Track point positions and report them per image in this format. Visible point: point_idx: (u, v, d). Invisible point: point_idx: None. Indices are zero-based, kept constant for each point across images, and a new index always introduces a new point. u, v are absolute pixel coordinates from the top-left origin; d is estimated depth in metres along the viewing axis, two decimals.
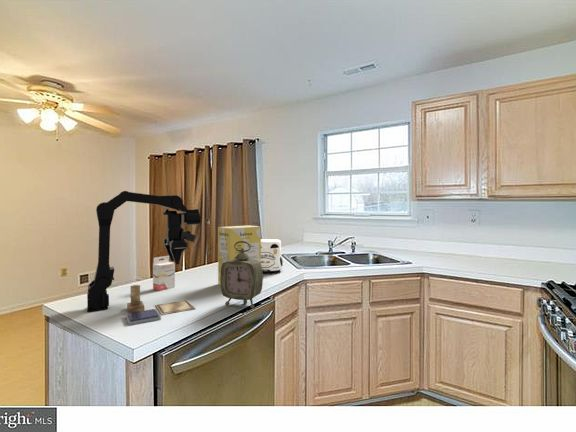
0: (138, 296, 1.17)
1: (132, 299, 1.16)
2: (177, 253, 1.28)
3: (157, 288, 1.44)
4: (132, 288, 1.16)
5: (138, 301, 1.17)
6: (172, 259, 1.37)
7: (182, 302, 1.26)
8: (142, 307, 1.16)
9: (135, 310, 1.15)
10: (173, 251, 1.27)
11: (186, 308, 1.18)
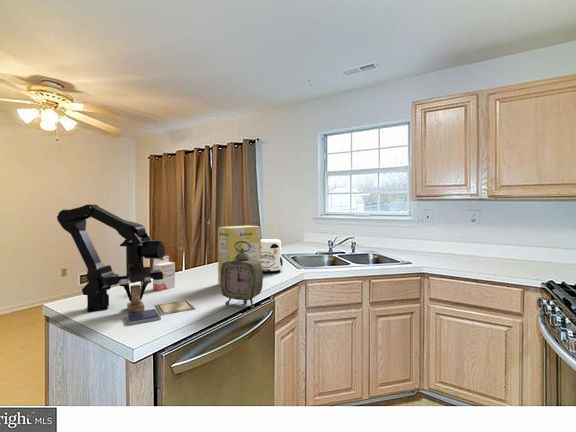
0: (138, 296, 1.17)
1: (132, 299, 1.16)
2: None
3: (157, 288, 1.44)
4: (132, 288, 1.16)
5: (138, 301, 1.17)
6: None
7: (182, 302, 1.26)
8: (142, 307, 1.16)
9: (135, 310, 1.15)
10: None
11: (186, 308, 1.18)
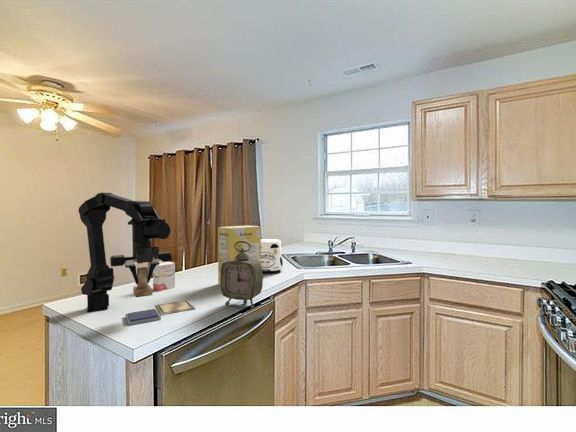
0: (145, 279, 1.08)
1: (139, 282, 1.07)
2: None
3: (157, 288, 1.44)
4: (139, 270, 1.07)
5: (145, 284, 1.08)
6: None
7: (182, 302, 1.26)
8: (150, 290, 1.07)
9: (142, 293, 1.06)
10: None
11: (186, 308, 1.18)
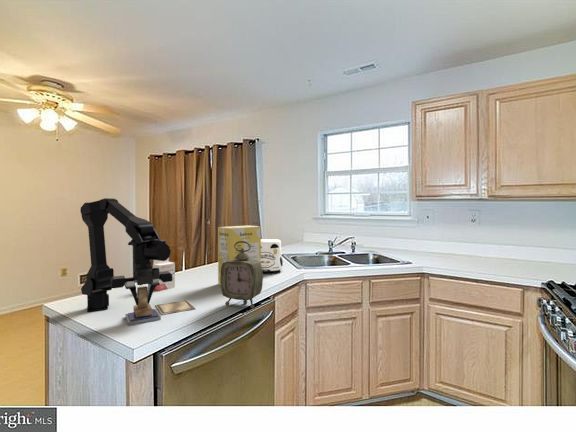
0: (145, 299, 1.08)
1: (139, 301, 1.07)
2: None
3: (157, 288, 1.44)
4: (139, 290, 1.07)
5: (145, 304, 1.08)
6: (148, 301, 1.10)
7: (182, 302, 1.26)
8: (150, 310, 1.07)
9: (142, 313, 1.06)
10: None
11: (186, 308, 1.18)
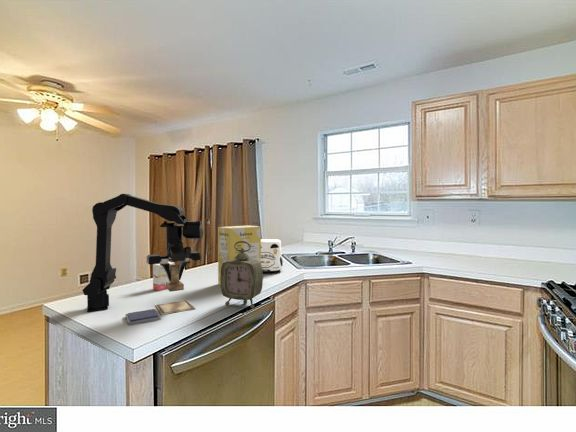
0: (177, 275, 1.19)
1: (172, 278, 1.19)
2: (166, 268, 1.18)
3: (157, 288, 1.44)
4: (172, 267, 1.18)
5: (177, 280, 1.19)
6: (179, 278, 1.21)
7: (182, 302, 1.26)
8: (182, 285, 1.18)
9: (175, 288, 1.17)
10: (163, 265, 1.19)
11: (186, 308, 1.18)
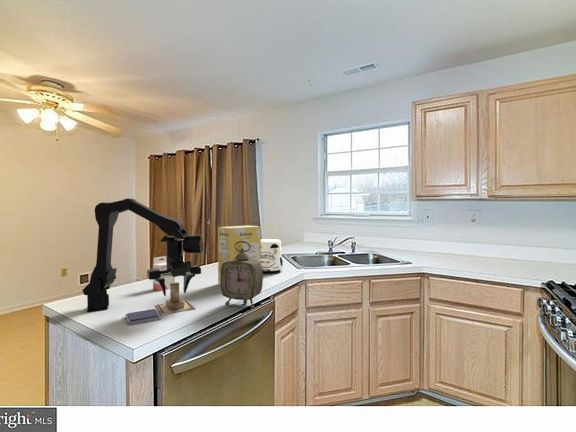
0: (177, 293, 1.19)
1: (172, 296, 1.19)
2: (161, 283, 1.18)
3: (157, 288, 1.44)
4: (172, 285, 1.19)
5: (177, 298, 1.20)
6: (184, 291, 1.22)
7: None
8: (182, 304, 1.18)
9: (175, 307, 1.17)
10: None
11: (186, 308, 1.18)
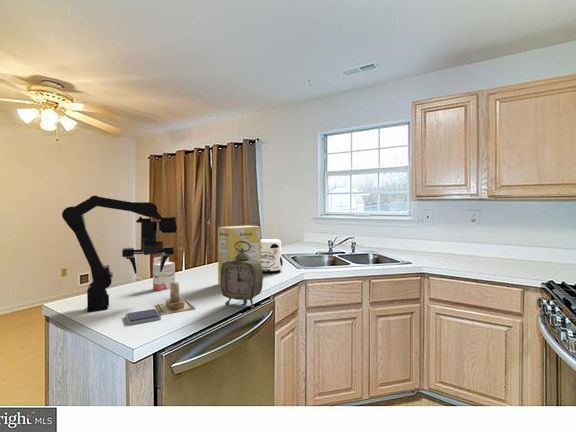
0: (177, 293, 1.19)
1: (172, 296, 1.19)
2: None
3: (157, 288, 1.44)
4: (172, 285, 1.19)
5: (177, 298, 1.20)
6: None
7: None
8: (182, 304, 1.18)
9: (175, 307, 1.17)
10: None
11: (186, 308, 1.18)
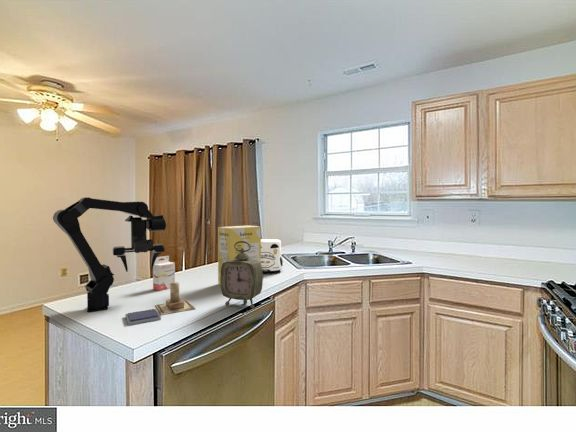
0: (177, 293, 1.19)
1: (172, 296, 1.19)
2: None
3: (157, 288, 1.44)
4: (172, 285, 1.19)
5: (177, 298, 1.20)
6: (151, 268, 1.32)
7: None
8: (182, 304, 1.18)
9: (175, 307, 1.17)
10: None
11: (186, 308, 1.18)
